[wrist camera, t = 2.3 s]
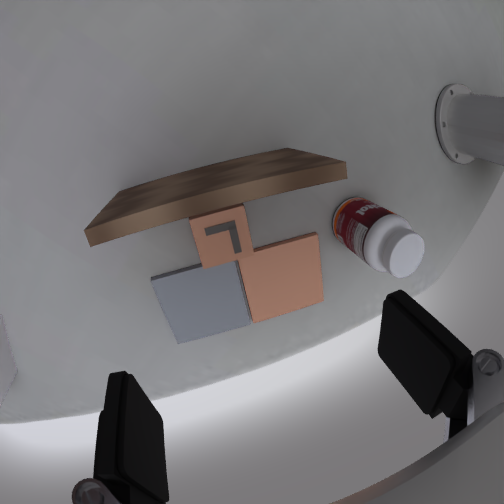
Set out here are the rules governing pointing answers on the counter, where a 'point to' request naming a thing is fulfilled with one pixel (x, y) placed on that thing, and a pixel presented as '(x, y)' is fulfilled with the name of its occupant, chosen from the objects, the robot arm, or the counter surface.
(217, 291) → the slate pad
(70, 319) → the counter surface
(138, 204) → the walnut wall
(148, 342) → the counter surface
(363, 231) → the pill bottle
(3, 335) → the milk
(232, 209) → the terracotta cube
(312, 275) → the terracotta pad
